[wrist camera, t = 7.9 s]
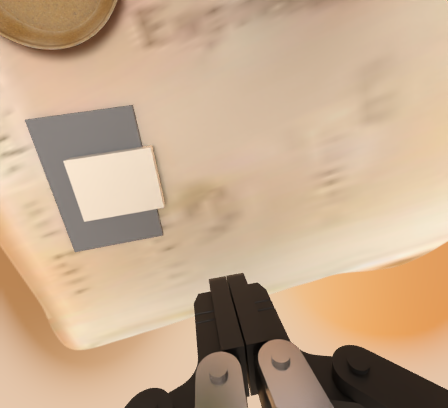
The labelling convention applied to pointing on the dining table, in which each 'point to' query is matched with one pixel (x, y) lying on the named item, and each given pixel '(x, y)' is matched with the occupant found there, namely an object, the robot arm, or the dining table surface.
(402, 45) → the dining table surface
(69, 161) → the tile
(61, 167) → the mat
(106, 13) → the plant saucer
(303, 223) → the dining table surface
